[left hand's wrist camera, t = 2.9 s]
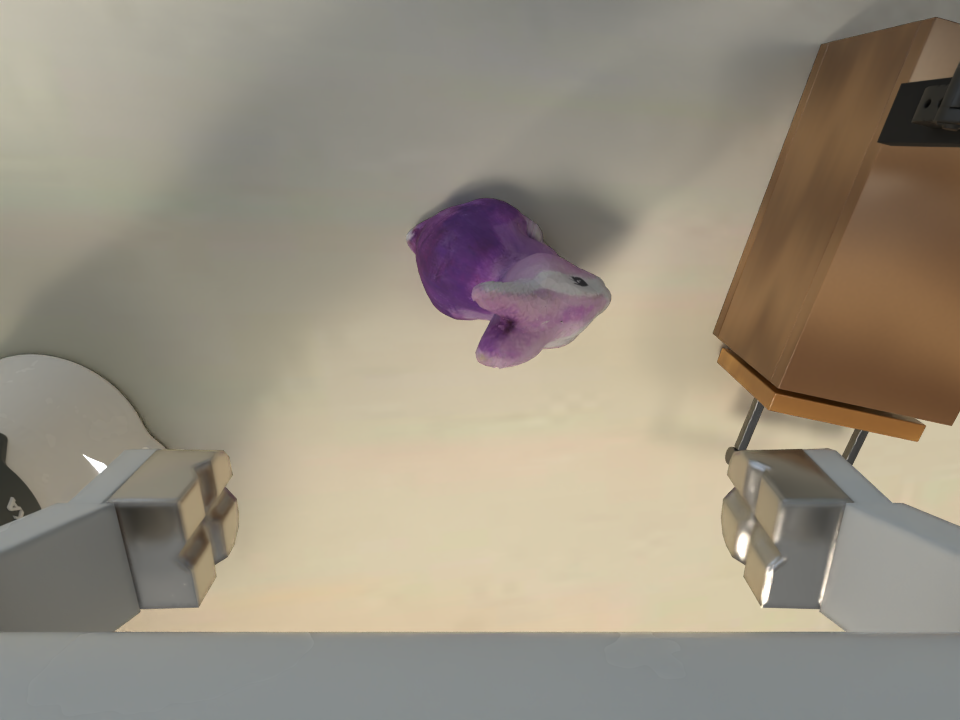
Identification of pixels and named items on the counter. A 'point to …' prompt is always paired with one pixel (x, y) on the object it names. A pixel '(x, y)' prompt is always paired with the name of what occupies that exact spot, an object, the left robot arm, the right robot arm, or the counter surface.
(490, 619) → the counter surface
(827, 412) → the drawer
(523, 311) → the figurine
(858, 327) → the cabinet
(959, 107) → the right robot arm
